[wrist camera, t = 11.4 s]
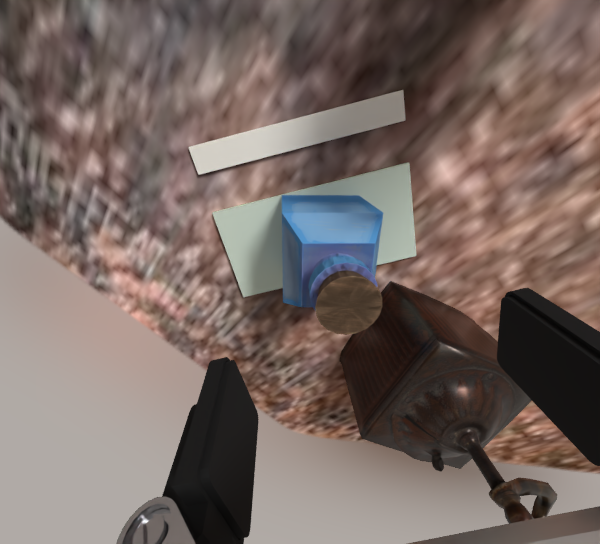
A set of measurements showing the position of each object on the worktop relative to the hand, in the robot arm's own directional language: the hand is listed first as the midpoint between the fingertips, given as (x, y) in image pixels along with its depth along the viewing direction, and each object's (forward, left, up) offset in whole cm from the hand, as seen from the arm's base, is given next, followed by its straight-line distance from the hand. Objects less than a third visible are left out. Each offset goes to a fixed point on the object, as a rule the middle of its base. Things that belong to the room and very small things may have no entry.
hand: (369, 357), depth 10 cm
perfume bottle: (0, 0, -16) cm, 16 cm away
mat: (0, 0, -16) cm, 16 cm away
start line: (-8, 0, -16) cm, 18 cm away
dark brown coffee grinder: (+15, +8, -16) cm, 24 cm away
